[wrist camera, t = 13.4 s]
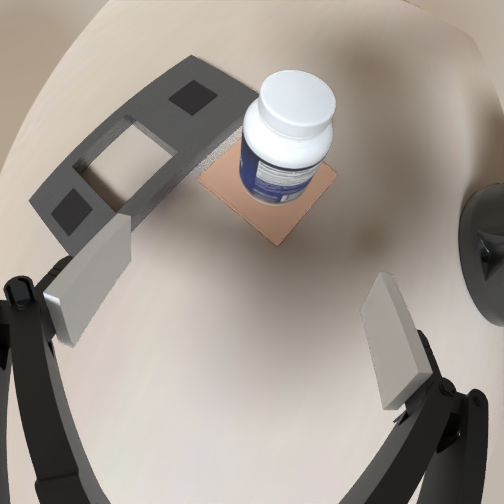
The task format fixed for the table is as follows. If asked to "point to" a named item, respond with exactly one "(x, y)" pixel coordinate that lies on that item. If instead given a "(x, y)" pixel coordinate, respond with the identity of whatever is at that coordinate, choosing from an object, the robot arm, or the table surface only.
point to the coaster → (258, 214)
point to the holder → (159, 130)
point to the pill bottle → (285, 136)
